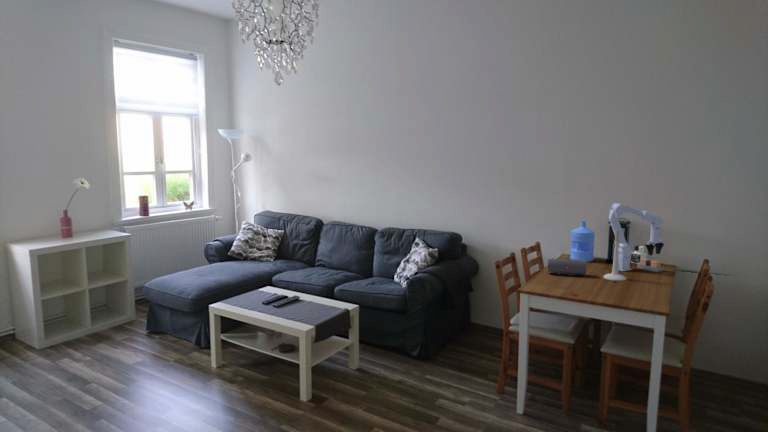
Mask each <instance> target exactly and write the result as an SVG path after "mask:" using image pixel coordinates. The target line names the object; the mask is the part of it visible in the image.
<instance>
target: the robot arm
mask: <svg viewBox="0 0 768 432" xmlns="http://www.w3.org/2000/svg"><path fill="white" fill-rule="evenodd" d="M624 213H631V214H634V215H636V216H639V218H640V220H642V221H643V220H644V221H646V222H648V223H650V233H649V234H650V237H649V240H648V241H646V242H645V244H644V245H645V246H644V247H646V249H647V253H648V254H647V255H648V256H653V254H654V249H655V254H656V255H660V254H661V252H662V251H661V250H662V249H663V247H664V246H665V243H664V240H663V239H661V231H662V230H661V229H662V224H663V223H664V220H663V218H662V217H661V216H659V215H656V214H655V213H652V212H650V211H649V210H639V209H638V208H635V207H633V206H630V205H627V204H624V203H619V202H614V203H612V205H611V206H610V208H609V215H608V219H609V222H610V225H611V229H612V231H613V235H614V236H615V231H619V245H618V271H620V272H626V271H628V272H629V271H632V270H633V268H631V254H632V252H633V249H632V248H631V247H630V245H629V243H628V242H627V240H626V238H625V235H624V232H623V229H622V227H621V223H620V221H619V219H620V218H621V216H622V215H624Z"/></svg>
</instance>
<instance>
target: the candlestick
mask: <svg viewBox="0 0 768 432" xmlns="http://www.w3.org/2000/svg"><path fill="white" fill-rule="evenodd" d="M613 244H614V252H613V261H612V269H611V273H606V274H604V275H603V278H604V279H605V280H609V281H616V282H620V281H621V282H622V281H626V280H627V277H626V276H625V275H623V274H620V272H619V270H618V254H619V253H618V245H619V231H615V235H614V240H613Z"/></svg>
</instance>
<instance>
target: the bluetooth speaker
mask: <svg viewBox="0 0 768 432" xmlns="http://www.w3.org/2000/svg"><path fill="white" fill-rule="evenodd" d="M547 272H548V273H554V274H555V273H556V274H558V273H559V274H568V275H567V276H576V275H586V274H587V262H586V261H583V260H573V259H571V258H569V259H568V258H547ZM559 274H558V275H559Z"/></svg>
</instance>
